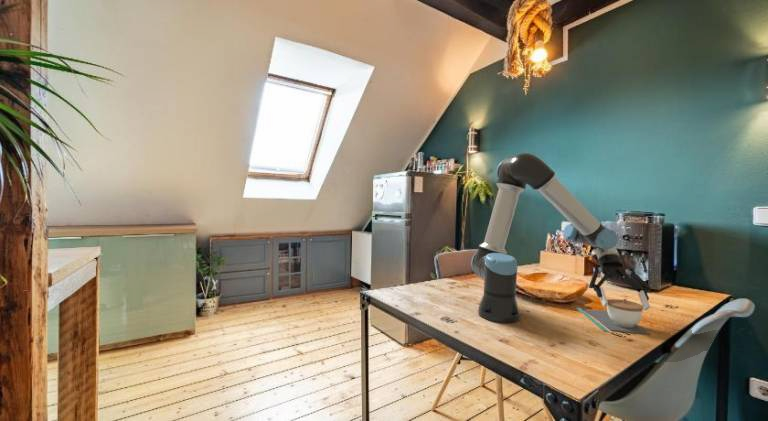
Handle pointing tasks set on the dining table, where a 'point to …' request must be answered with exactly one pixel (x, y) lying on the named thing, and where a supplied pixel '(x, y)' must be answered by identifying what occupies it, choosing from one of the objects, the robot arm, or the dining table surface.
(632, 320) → the lidded jar
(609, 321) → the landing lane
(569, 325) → the dining table surface
